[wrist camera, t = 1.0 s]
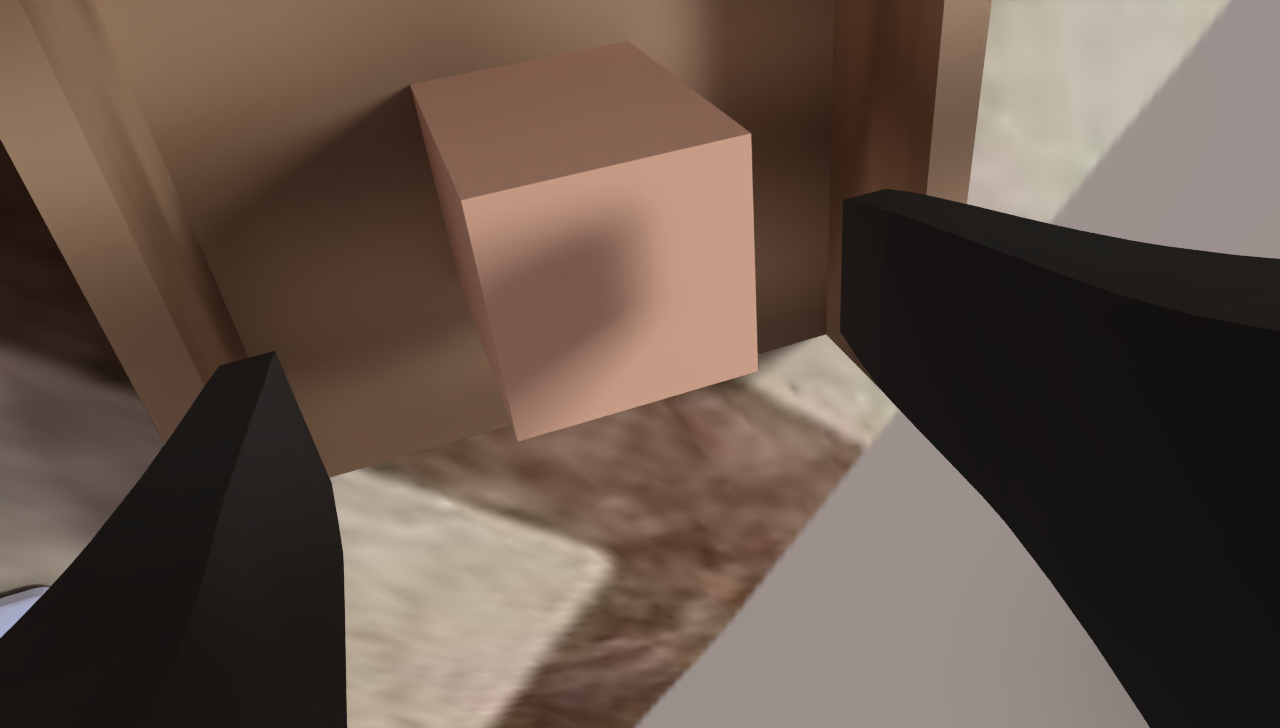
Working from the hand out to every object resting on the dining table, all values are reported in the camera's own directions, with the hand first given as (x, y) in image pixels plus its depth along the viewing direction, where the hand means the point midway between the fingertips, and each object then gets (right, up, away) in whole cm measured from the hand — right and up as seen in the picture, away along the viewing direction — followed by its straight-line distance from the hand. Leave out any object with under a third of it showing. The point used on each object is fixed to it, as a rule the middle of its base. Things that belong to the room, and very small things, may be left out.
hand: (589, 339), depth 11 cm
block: (-1, +4, +8) cm, 9 cm away
